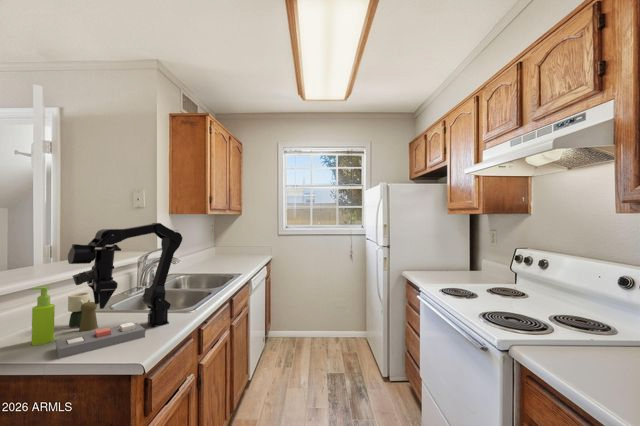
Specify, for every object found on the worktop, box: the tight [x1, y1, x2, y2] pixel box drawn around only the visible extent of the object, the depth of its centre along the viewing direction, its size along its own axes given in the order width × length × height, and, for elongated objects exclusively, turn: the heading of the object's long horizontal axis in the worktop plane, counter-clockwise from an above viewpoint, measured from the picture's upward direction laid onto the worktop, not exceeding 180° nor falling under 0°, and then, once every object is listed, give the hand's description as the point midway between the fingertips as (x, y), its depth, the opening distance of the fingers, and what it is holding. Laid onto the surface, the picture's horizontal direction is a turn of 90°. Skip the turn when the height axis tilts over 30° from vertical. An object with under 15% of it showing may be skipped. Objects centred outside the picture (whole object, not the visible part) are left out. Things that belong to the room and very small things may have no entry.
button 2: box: [119, 322, 135, 332], centre depth 111 cm, size 4×4×3 cm
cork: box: [78, 301, 99, 332], centre depth 119 cm, size 6×6×11 cm
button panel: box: [55, 322, 146, 360], centre depth 105 cm, size 24×10×4 cm, turn 136°
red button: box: [94, 327, 111, 338], centre depth 105 cm, size 4×4×3 cm
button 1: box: [67, 337, 84, 345], centre depth 100 cm, size 4×4×3 cm
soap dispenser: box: [29, 286, 56, 346], centre depth 107 cm, size 6×7×20 cm
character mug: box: [67, 292, 91, 328], centre depth 124 cm, size 11×7×13 cm, turn 51°
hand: (99, 306), depth 109 cm, fingers open, 9 cm apart
